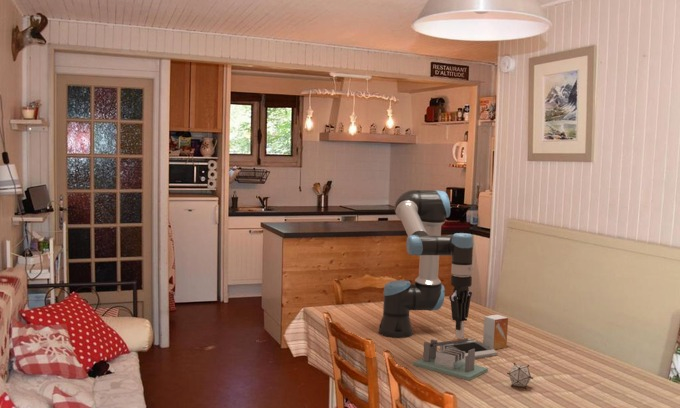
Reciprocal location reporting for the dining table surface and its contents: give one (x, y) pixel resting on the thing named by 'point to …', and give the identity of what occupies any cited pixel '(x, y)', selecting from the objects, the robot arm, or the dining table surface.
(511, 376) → the game die
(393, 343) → the dining table surface
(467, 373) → the base board
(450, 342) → the dark grey bar
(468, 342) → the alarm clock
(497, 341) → the small box
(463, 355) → the heatsink
